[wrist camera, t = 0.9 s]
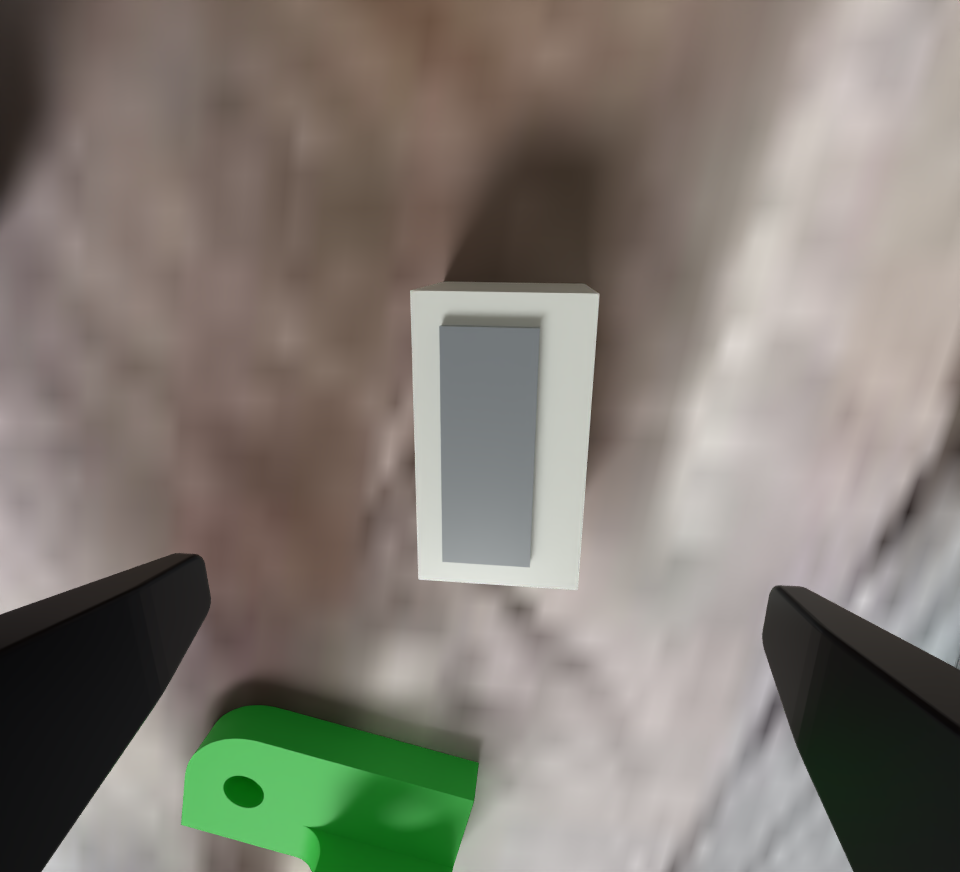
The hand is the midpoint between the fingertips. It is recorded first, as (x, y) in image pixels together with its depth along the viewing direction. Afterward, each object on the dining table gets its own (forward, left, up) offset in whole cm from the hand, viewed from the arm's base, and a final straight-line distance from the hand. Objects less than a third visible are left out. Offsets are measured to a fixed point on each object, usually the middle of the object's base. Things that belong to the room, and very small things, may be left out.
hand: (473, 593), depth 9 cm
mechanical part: (+7, +17, -11) cm, 22 cm away
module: (0, 0, -11) cm, 11 cm away
